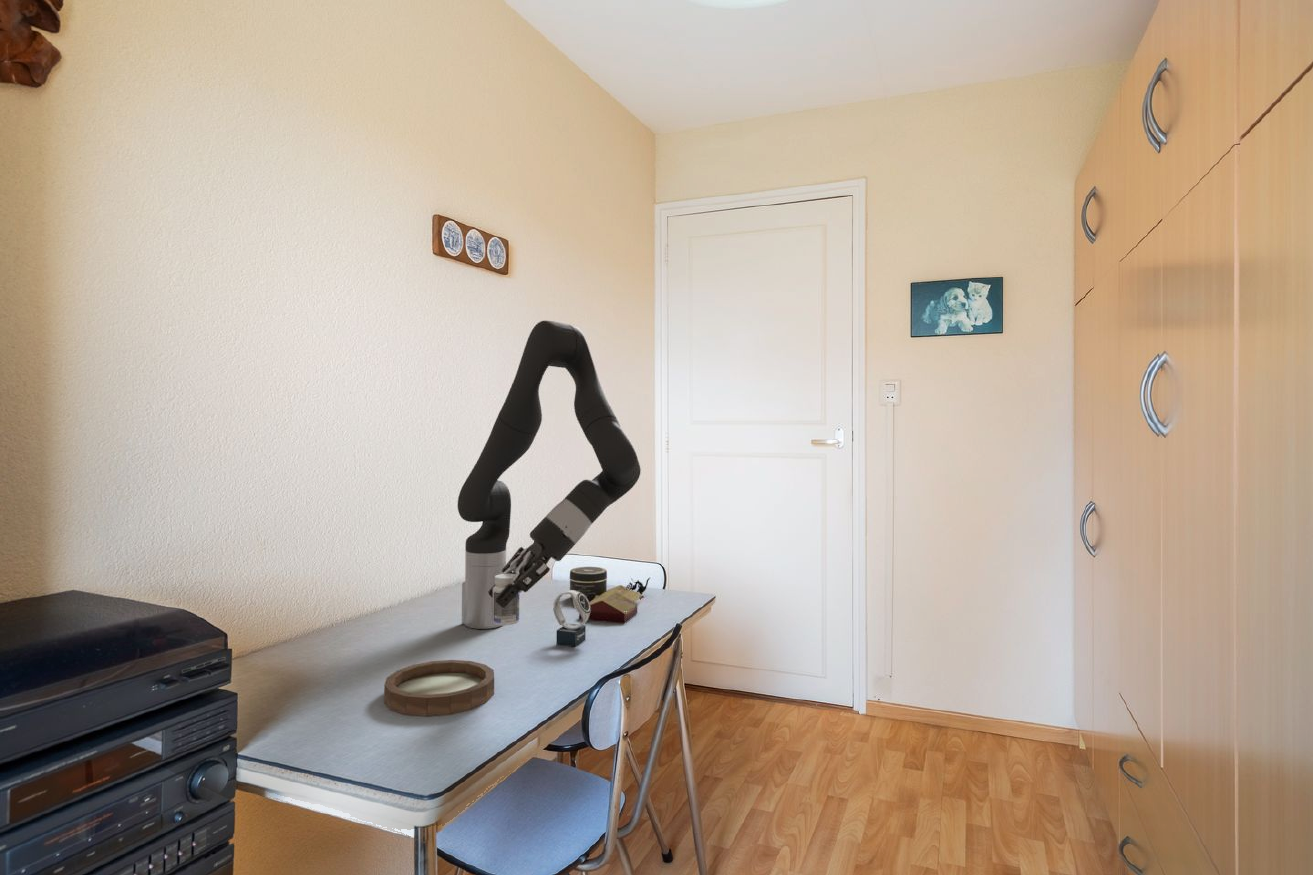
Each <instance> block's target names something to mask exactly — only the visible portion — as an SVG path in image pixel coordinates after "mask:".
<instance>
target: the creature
mask: <svg viewBox="0 0 1313 875" xmlns="http://www.w3.org/2000/svg"><path fill="white" fill-rule="evenodd" d="M630 579H631V581H632V582H628V583H629V584H627V585H626V587H625V588H627V589H629V590H633V591H635V590H636V589H637V587H638V589H637V590H636V592H637V593H640V594H642V595H643V593H644V592H645V591H646V590H647V587H648V584H649V580H650V579H651V577H648V578H647V579H646V582H645V583H646V584H645V585H644V584H643V582H641V581H640V580H637V581H634V579H633V578H631V577H630Z"/></svg>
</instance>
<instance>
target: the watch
mask: <svg viewBox="0 0 1313 875" xmlns="http://www.w3.org/2000/svg"><path fill="white" fill-rule="evenodd" d="M570 594H571V595H570ZM563 595H570V597H572V598H571V599H572V602H573V606H574V609H575V610H576V612H577V613H578V615H579V614H580V615H581V617H582V619H581V620H582V621H581V623H580V624H576V623H568V622H567V621H566V617H565V616H564V614H563V611H562V607H561V606H560V605H561V604H560V600H561V599H562V597H563ZM552 610H553V614H554V617H555V619H556V621H557V623H558V624H559V625H560V626H561V627H559V628H558V629H556V645H557V646H563V647H570V648H571V647H572V648H576V647H577V646H579V645H580V644H582V643H583V642H584V641H586V633H587V632H586V631H587V630H586V628H587V627H586V626H587V625H585V624H586V623H587V622H588V621H589V620H588V618H589V615H590V612H591V606H590V603H589V600H588V599H587V597H586V596H585V595H584V594H583V593H580V592H578V591H575V590H570V589H568V590H566V591H564V592H562V593H560V594H558V595H557V597H556V598H555V599H554V601H553V608H552Z"/></svg>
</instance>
